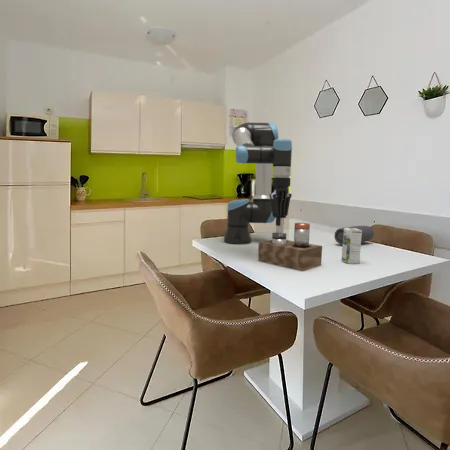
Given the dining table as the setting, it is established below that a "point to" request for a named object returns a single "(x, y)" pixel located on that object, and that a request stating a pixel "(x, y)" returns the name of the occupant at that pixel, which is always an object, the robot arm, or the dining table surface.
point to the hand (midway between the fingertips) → (279, 233)
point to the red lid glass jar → (301, 235)
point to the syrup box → (351, 245)
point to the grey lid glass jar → (279, 238)
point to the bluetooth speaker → (366, 230)
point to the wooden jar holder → (290, 255)
